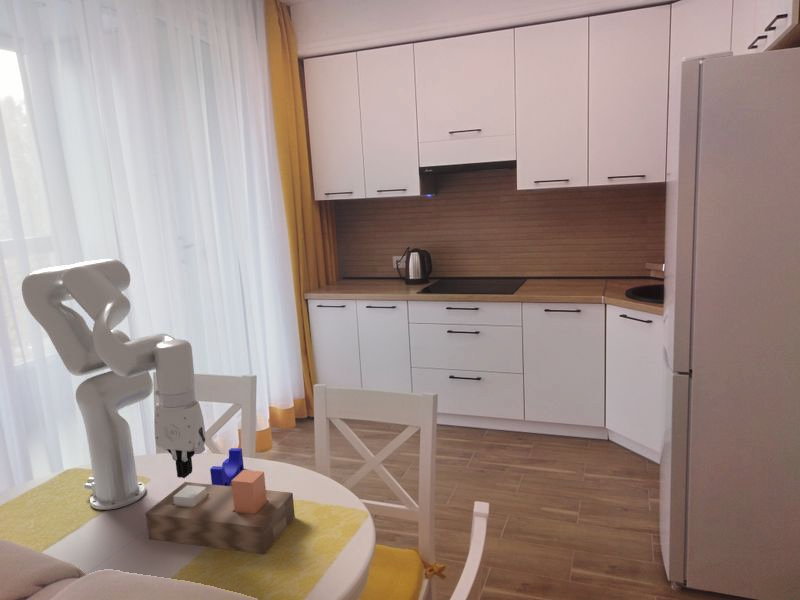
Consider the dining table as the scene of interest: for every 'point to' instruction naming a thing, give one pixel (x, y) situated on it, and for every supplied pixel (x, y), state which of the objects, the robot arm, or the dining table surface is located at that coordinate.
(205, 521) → the button box
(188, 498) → the white rectangular block
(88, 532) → the dining table surface
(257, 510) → the terracotta plunger
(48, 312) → the robot arm
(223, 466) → the cable clip
